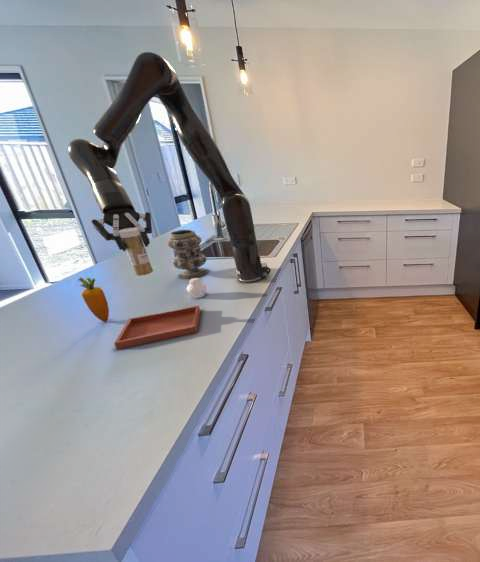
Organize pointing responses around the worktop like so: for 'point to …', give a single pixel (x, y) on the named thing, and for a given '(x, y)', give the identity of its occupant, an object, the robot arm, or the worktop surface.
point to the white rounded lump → (196, 288)
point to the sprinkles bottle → (136, 251)
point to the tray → (158, 327)
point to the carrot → (95, 299)
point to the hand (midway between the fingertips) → (135, 247)
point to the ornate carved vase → (187, 253)
